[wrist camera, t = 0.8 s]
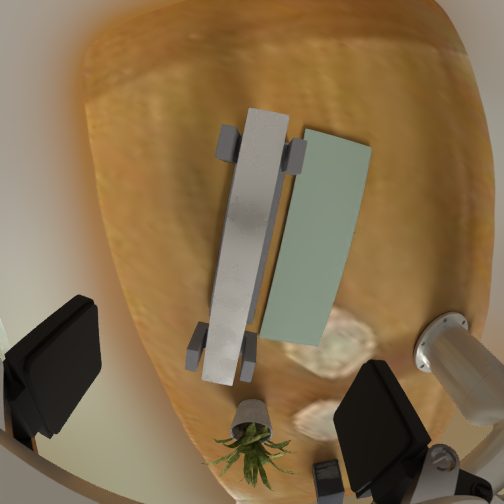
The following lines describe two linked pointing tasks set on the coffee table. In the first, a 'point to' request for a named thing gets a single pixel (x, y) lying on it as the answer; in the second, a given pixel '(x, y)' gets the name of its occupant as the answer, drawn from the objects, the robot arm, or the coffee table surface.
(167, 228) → the coffee table surface
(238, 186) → the steel rail
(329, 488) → the small box
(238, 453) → the house plant
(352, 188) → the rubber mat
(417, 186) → the coffee table surface
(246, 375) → the grey base with uprights
